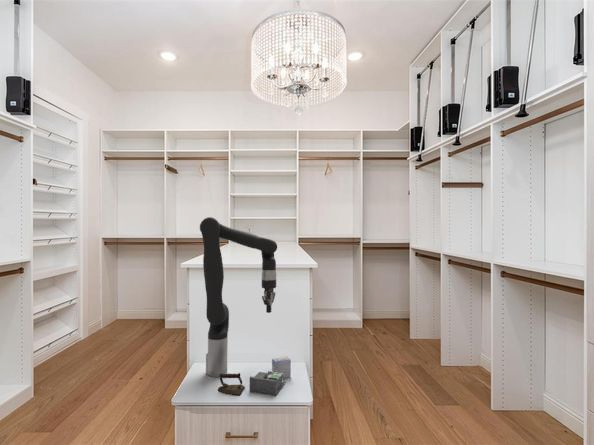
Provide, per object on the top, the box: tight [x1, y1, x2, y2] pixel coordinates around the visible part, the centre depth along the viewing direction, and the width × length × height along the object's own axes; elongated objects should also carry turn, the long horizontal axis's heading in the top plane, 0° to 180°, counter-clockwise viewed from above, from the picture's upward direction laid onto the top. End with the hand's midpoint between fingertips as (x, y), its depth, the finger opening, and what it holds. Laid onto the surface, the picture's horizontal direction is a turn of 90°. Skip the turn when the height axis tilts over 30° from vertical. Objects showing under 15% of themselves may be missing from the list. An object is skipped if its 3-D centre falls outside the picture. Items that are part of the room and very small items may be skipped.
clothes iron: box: [217, 372, 245, 397], centre depth 143 cm, size 7×11×10 cm, turn 84°
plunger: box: [265, 370, 277, 380], centre depth 147 cm, size 7×9×4 cm
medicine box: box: [271, 356, 292, 380], centre depth 157 cm, size 8×4×9 cm, turn 115°
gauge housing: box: [249, 371, 286, 397], centre depth 146 cm, size 12×11×6 cm
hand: (268, 312), depth 171 cm, fingers closed
